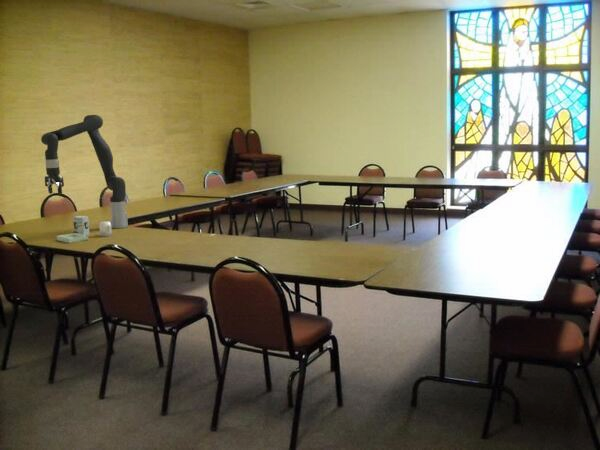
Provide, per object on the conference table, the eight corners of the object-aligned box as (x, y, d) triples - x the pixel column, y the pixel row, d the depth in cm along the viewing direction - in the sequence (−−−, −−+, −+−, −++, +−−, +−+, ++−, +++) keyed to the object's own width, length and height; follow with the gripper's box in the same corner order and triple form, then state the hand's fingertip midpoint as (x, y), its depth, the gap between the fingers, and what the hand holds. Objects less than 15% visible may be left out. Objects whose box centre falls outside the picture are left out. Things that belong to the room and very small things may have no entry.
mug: (108, 233, 405) (107, 221, 403) (116, 235, 398) (115, 222, 397) (97, 235, 400) (96, 222, 398) (105, 237, 393) (104, 224, 392)
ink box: (73, 235, 402) (72, 216, 400) (79, 234, 406) (78, 215, 404) (84, 236, 398) (82, 217, 396) (89, 234, 402) (88, 216, 400)
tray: (75, 237, 396) (74, 233, 395) (88, 240, 385) (87, 235, 385) (56, 240, 387) (56, 235, 387) (69, 243, 377) (69, 238, 376)
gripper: (65, 166, 389) (68, 193, 392) (50, 166, 396) (52, 192, 399) (55, 167, 382) (58, 194, 385) (39, 167, 390) (42, 194, 393)
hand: (55, 193), depth 392 cm, fingers open, 8 cm apart
